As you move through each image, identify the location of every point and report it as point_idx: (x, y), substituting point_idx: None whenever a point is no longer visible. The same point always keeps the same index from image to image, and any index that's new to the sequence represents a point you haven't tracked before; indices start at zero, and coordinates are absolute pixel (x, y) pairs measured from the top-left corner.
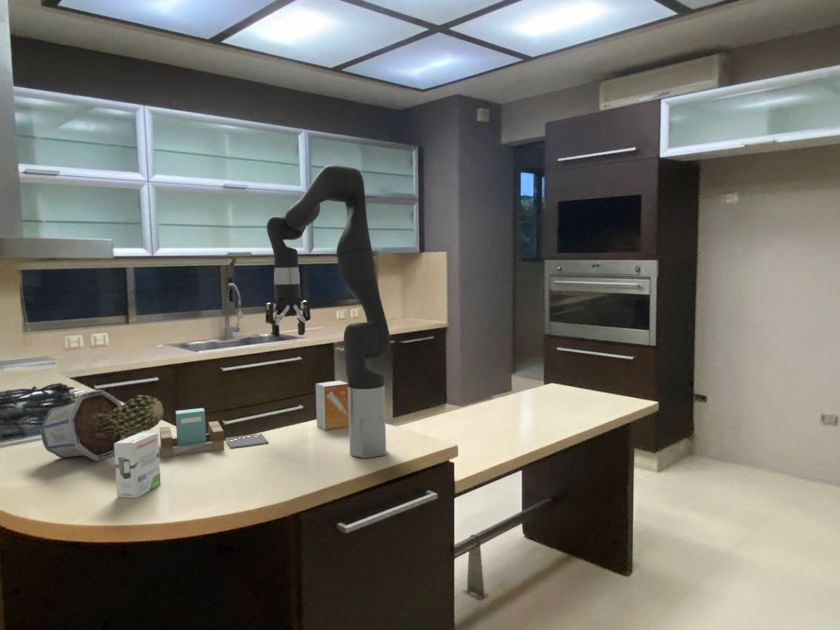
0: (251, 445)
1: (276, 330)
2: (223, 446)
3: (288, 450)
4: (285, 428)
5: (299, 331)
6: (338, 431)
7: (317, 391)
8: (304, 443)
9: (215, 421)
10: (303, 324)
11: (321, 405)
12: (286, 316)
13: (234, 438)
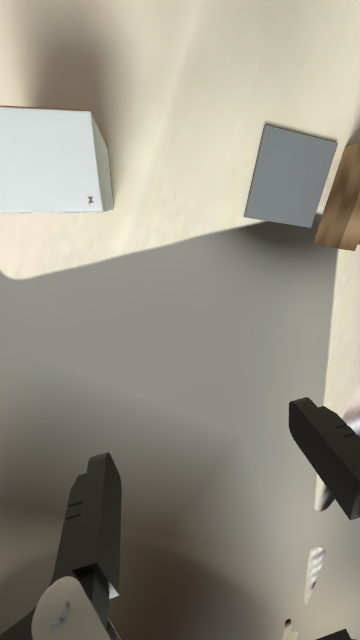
0: (297, 134)
1: (341, 440)
2: (351, 145)
3: (257, 10)
4: (183, 238)
5: (115, 496)
6: None
7: (104, 194)
8: (199, 51)
9: (343, 246)
10: (76, 551)
11: (105, 162)
12: (334, 635)
13: (300, 211)
